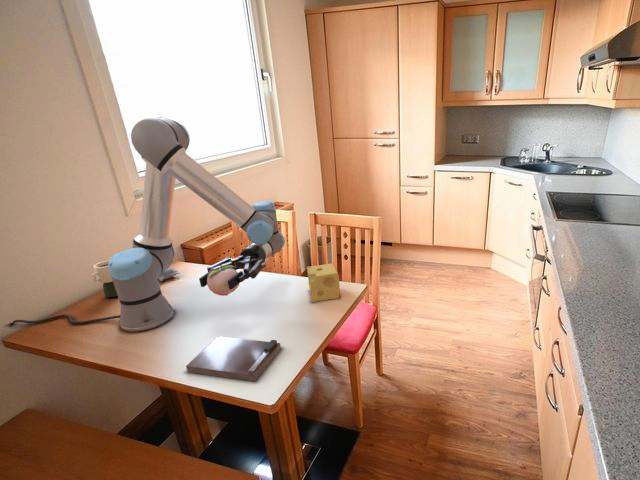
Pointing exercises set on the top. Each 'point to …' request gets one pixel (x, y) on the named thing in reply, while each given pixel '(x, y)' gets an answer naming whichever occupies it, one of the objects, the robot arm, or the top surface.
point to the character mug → (104, 278)
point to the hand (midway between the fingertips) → (215, 283)
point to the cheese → (323, 282)
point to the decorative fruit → (221, 280)
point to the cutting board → (235, 358)
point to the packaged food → (168, 274)
